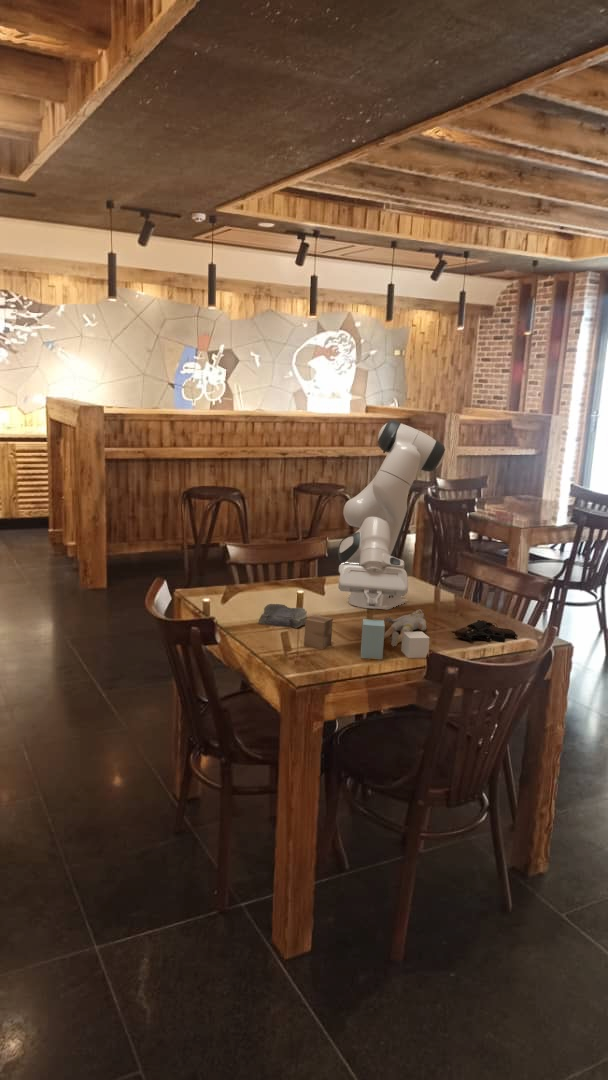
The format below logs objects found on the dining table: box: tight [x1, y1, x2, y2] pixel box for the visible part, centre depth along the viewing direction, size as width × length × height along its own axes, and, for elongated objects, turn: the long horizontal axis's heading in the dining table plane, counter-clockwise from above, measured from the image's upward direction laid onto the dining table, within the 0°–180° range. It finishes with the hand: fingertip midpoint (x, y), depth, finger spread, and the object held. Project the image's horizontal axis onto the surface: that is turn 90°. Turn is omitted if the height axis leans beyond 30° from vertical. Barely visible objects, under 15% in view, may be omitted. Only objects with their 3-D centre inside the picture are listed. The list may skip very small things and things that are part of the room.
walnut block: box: [303, 614, 334, 650], centre depth 231 cm, size 6×6×8 cm
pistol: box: [451, 619, 519, 643], centre depth 247 cm, size 4×19×15 cm
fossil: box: [258, 603, 308, 629], centre depth 255 cm, size 15×16×4 cm
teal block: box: [360, 618, 386, 660], centre depth 223 cm, size 6×6×10 cm
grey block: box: [401, 631, 431, 659], centre depth 227 cm, size 6×6×6 cm
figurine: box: [383, 608, 428, 647], centre depth 248 cm, size 13×6×30 cm
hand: (372, 605), depth 225 cm, fingers closed
